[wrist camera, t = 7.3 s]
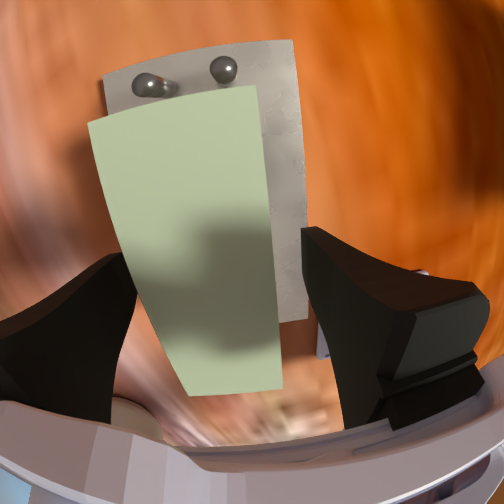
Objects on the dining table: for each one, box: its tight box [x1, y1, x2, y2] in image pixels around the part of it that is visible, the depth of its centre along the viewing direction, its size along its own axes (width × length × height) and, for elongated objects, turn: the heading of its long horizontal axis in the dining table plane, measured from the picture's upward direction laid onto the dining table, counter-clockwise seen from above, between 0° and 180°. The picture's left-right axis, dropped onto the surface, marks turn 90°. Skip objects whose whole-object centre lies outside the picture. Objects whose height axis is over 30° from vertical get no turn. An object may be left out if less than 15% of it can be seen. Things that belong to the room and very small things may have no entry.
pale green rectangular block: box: [87, 85, 283, 396], centre depth 11 cm, size 4×12×6 cm, turn 6°
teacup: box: [111, 397, 163, 440], centre depth 25 cm, size 14×11×8 cm
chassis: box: [102, 40, 308, 323], centre depth 14 cm, size 10×18×5 cm, turn 7°
